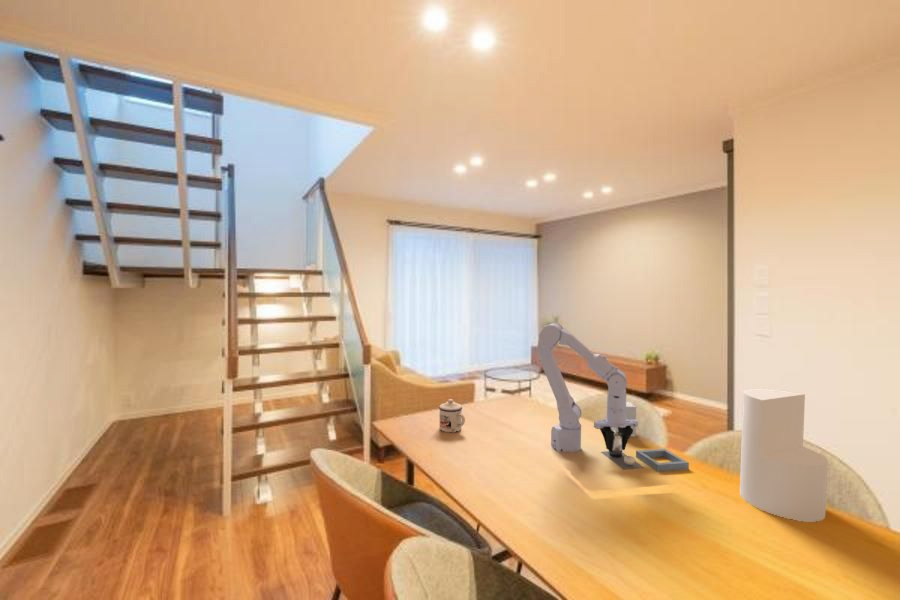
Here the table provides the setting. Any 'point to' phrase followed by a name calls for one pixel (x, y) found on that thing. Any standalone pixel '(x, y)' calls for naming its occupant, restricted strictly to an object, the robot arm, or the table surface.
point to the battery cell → (616, 445)
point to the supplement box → (629, 417)
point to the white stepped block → (780, 457)
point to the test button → (629, 460)
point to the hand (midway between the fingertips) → (615, 449)
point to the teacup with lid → (451, 416)
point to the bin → (666, 466)
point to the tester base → (622, 461)
